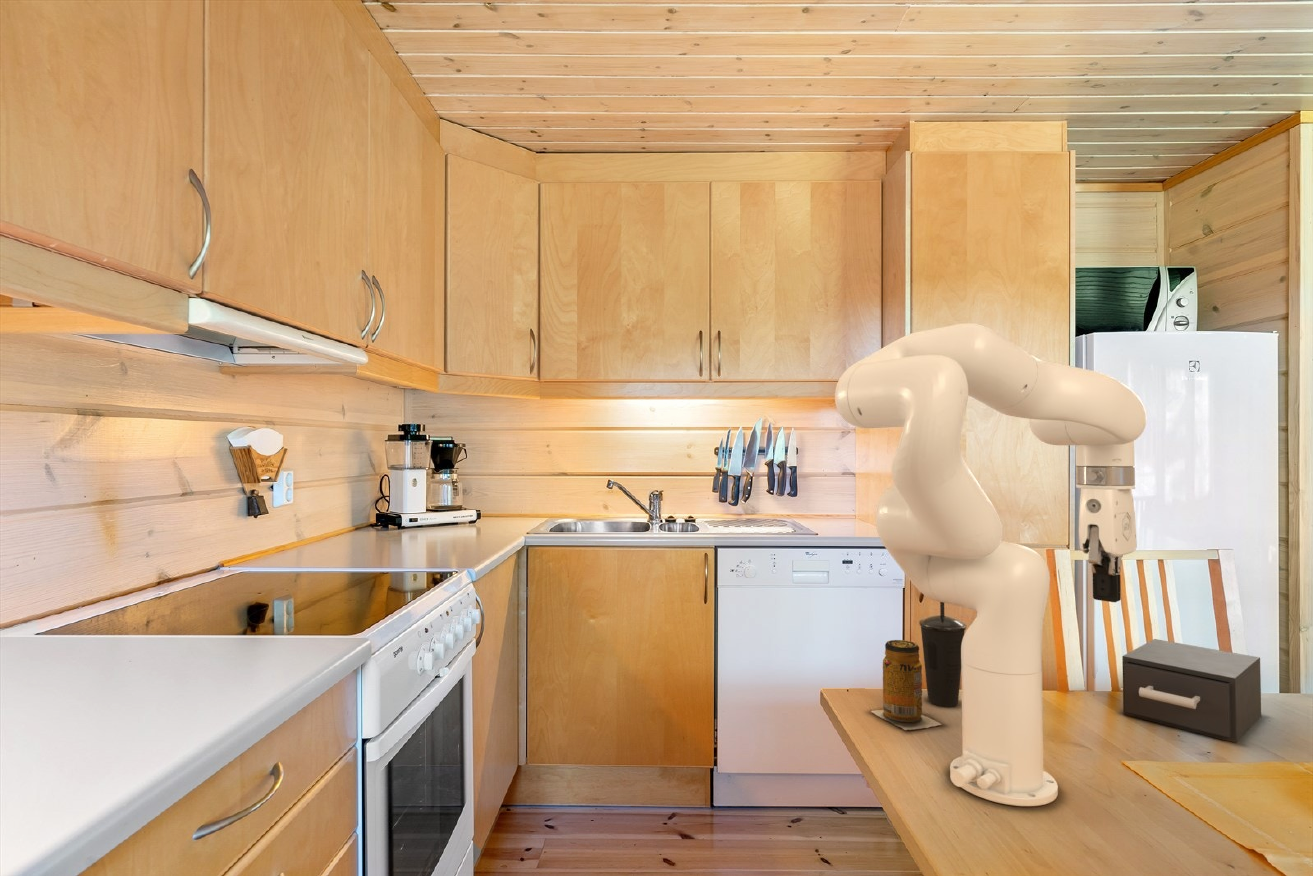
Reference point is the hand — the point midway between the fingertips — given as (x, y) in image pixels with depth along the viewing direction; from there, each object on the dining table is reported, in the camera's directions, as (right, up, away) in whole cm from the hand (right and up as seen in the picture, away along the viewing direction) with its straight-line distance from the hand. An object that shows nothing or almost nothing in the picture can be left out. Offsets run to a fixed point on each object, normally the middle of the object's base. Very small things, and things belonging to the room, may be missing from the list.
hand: (1106, 600), depth 104 cm
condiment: (-28, -22, +8) cm, 36 cm away
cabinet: (+20, -21, +9) cm, 31 cm away
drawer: (+17, -20, +7) cm, 28 cm away
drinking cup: (-18, -22, +16) cm, 32 cm away
